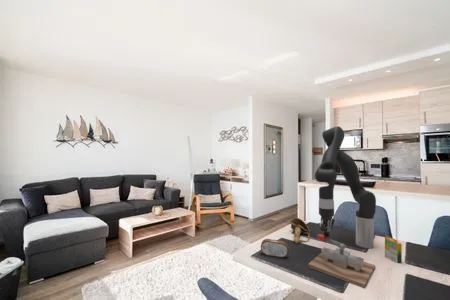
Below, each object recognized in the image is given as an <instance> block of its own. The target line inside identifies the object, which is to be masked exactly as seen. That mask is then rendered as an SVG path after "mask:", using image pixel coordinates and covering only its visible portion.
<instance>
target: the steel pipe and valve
mask: <svg viewBox="0 0 450 300" xmlns="http://www.w3.org/2000/svg"><path fill="white" fill-rule="evenodd" d="M320 251H321V252H320V253H321V256H322V257H324V260H325V261H329V260H330V259H331V260H333V265H335V266H338V267H341V268H344V269H347V268H348V267H349V265H350V266H353V267H355V271H358V272H360V271H361V269H362V268H363V267H364V262H365V258H363V257H359V256H356V255H353V254H351V252H350V251H348V250H345V249H344V252H340V248H339V247H338V248H336V249H332V248H329V247H326V246H325V247H324V246H323V247H322V248H321V250H320Z"/></svg>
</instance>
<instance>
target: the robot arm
mask: <svg viewBox="0 0 450 300" xmlns="http://www.w3.org/2000/svg"><path fill="white" fill-rule="evenodd" d="M321 136H322V139H323V141H324V143H325V145H326V146H327V148H326V150H325V151H324V153H323V154H322V155H323V156H322V158H321V162H320V164H319V166H318V168H317V169H316V171H315V173H314V178H315V181H317V182H318V183H326V184H327V183H328V185H326V186H325V185H324V186H320V187H319V188H318V215H320V222H318V224H317V226H318V227H319V229H320V231H321V232H323V235H324V236H327V237H329V238H330V232H331V230H333V227H334V226H335V225H334V224H335V221H336V220H335V218H333V217H334V216H335V201H334V191H335V190H334V189H335V184H336V180H337V177H338V173H337V172H336V171H335V166H336V164H337V166H338V168H339V169H340V171H341V172H340V173H341V174H342V175H343V177H344V179H345V182H346V183H347V185H348V186H349V189H350V193H351V196H352V197H353V200H354V201H355V203H357V204H358V205H359V207H358V209H357V210H356V211H355V245H356V246H357V247H361V248H364V249H373V248H374V244H375V243H374V242H375V241H374V240H375V237H374V235H375V234H374V233H375V232H374V231H375V229H374V228H375V227H374V226H375V225H374V224H375V221H374V220H375V217H374V216H375V214H376V207H377V198H376V195H375V193H373V192H371V191H369V190H366V188H364V185H363V184H362V182H361V180H360V171H359V167H358V166H357V163H356V161H355V160H354V158H353V157H352V156H351V155H349V154H348V153H346V152H344V151H343V150H342V149H341V146H342V145H343V141H344V140H345V131H344V130H343V128H342V127H341V126H338V125H337V126H334V127H332V128H329V129H326V130H324V131H323V132H322V135H321ZM330 239H331V238H330Z"/></svg>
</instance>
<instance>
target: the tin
mask: <svg viewBox="0 0 450 300" xmlns="http://www.w3.org/2000/svg"><path fill="white" fill-rule="evenodd" d="M260 251H261V252H262V253H263V255H265V256H269V257H274V256H275V258H280V257H281V259H282V258H286V257H287V256H288V255H289V252H290V247H289V244H288V243H287V242H286V241H283V240H278V239H271V238H265V239H263V240H262V242H261V244H260Z"/></svg>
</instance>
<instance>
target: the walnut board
mask: <svg viewBox="0 0 450 300" xmlns="http://www.w3.org/2000/svg"><path fill="white" fill-rule="evenodd" d="M307 268H309V269H311V270H315V271H317V272H319V273H322V274H325V275H328V276H331V277H333V278H337V279H339V280H342V281H345V282H347V283H350V284H353V285H355V286H358V287H361V288H363V289H365V288H366V287H367V285H368V283H369V280H370V279H371V277H372V276H373V274H374V272H375V270H376V264H373V263H369V262H366V261H364V267H363V268H362V269H361V271H360V272H358V271H355V267H353V266H350V265H349V267H348V268H347V269H344V268H341V267H338V266H335V265H333V260H331V259H330V260H329V261H325V260H324V257H322V256H321V252H320V253H319V254H318V255H316V256H315V257H314V258H313V259H312V260H311V261H309V263H308V264H307Z"/></svg>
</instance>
